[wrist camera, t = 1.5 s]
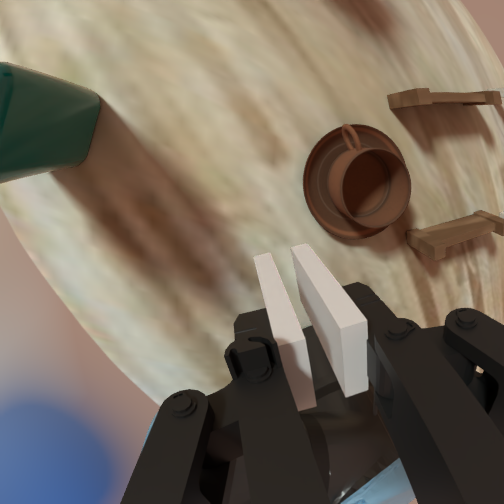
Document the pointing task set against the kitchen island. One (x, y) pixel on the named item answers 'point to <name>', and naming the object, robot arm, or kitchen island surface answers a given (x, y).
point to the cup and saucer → (356, 182)
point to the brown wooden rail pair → (464, 228)
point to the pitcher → (42, 122)
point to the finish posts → (503, 94)
